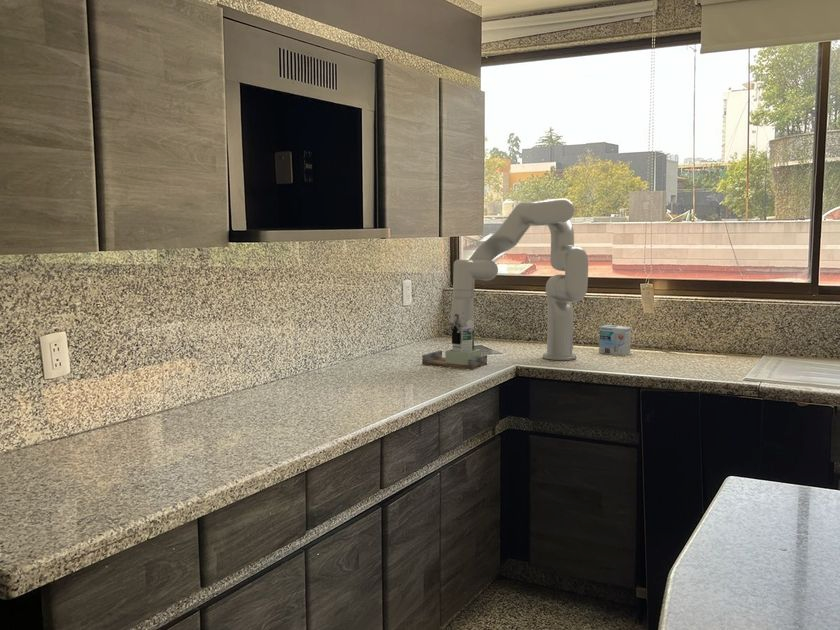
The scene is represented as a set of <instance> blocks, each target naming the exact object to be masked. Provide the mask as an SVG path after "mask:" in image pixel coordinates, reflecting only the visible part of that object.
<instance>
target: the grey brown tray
mask: <svg viewBox="0 0 840 630" xmlns="http://www.w3.org/2000/svg"><path fill="white" fill-rule="evenodd" d="M421 356H422V357H421V358H422V359H421V361H422V362H421V364H423V365H422V366H430V365H432V366H431V367H439V366H441V367H442V368H448V367H451V369H457V368H459V370H460V369H461V370H466V369H469V371H474V370H475V369H479V368H481V366H482V367H484V365H485V366H487V365H488V355H487V354H481V356H478V357H475V358H472V359H469V360H468V365H458V364H449V363H445V357H443V351H442V350H436V351H435V350H434V351H431V352H429V353H426V354H422V355H421ZM441 367H440V368H441ZM478 367H479V368H478ZM473 369H474V370H473Z"/></svg>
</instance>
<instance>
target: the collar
mask: <svg viewBox="0 0 840 630" xmlns="http://www.w3.org/2000/svg"><path fill="white" fill-rule="evenodd" d="M481 355H482V349H480V348H474V351H472V352H468V353H467V352H456V351H452V348H451V349H448V350H445V356H444V358H445V363H449V364H458V365H468V360H469V359H472V358H475V357H478V356H481Z"/></svg>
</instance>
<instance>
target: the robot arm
mask: <svg viewBox="0 0 840 630" xmlns="http://www.w3.org/2000/svg"><path fill="white" fill-rule="evenodd" d="M574 215H575V206H574V204H573V202H572V201H571V200H570V199H568V198H548V199H547V198H546V199H543V200H540V201H526V202H525V201H523V202H520V203H518V204H517V205H516V206H514V208H513V210H512V211H511V212H510V214H509V215H508V216H507V218H506V219H505V220H504V222H503V223H502V224H501V225H500V226H499V228H498V229H497V231H495V233H493V234H492V235H490V237H489V238H487V239H486V240H485V241H484V242H483V243H482V244H480V245H479V246H478V248H477V249H475V251H474V252H473V254H472V255H471V256H470V258H469V259H456V260H455V261H454V262H453V272H452V273H453V278H452V279H453V281H452V283H453V286H452V287H453V288H452V302H451V308H450V309H451V310H450V320H449V321H450V322H449V323H450V329H451V345H452V344H460V343H461V333H460V330H461V327H464V326H466V323H467V321H470V320H473V321H474V325H475V322H476V316H475V304H474V300H475V281H476V280H481V281H491V280H494V279H495V278H496V277H497V275H498V273H499V268H498V264H497V263H496V262H495V261H494V259H495V258H496V257H497V256H499V255H501V254H503V253H505V252H508V251H510V250H511V249H513V248H515V247H516V246H517V245H518V244H519V242H520V240H521V239H522V238H523V237H524V235H525V233H527V231H528V230H529V229H530V227H531V226H532V227H533V226H535V227H536V226H547V227H548V229H549V232H550V253H549V254H550V260H549V261H550V266H551V267H552V268H553V269H554V270H556V271H559V272H564V274H562V273H561V274H554V275H552V276H550V277H549V279H548V280H547V281H546V284H545V294H546V300H547V301H546V302H547V323H546V324H547V328H546V329H547V331H546V332H547V333H546V336H547V337H546V338H547V339H546V340H547V341H546V352H544V353H543V354H542V359H543V358H544V360H545V359H546V360H551V361H573V360H576V359H577V354H575V353H573V349H574V346H573V343H574V342H573V339H574V338H573V336H574V333H573V332H574V331H573V330H574V307H573V303H577V302H580V301H583V299H584V298H585V296H586V294H587V292H588V284H589V283H588V282H589V257H588V255H587V252H586V250H584V249H583V248H582V247H580V246H575V231H574V230H575V229H574V226H573V224H572V222H571V219H572V218H573V216H574ZM457 327H458V329H457Z"/></svg>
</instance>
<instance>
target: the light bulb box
mask: <svg viewBox="0 0 840 630" xmlns="http://www.w3.org/2000/svg"><path fill="white" fill-rule="evenodd" d="M631 338H632V327H631V326H624V325H611V324H610V325H609V324H604V325H601V326H599V340H598V341H599V343H598V354H603V353H607V354H606V355H612V354H617V355H616V356H620V355H625V356H627V354H628V355H630V354H631V341H632V340H631ZM629 353H630V354H629Z"/></svg>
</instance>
